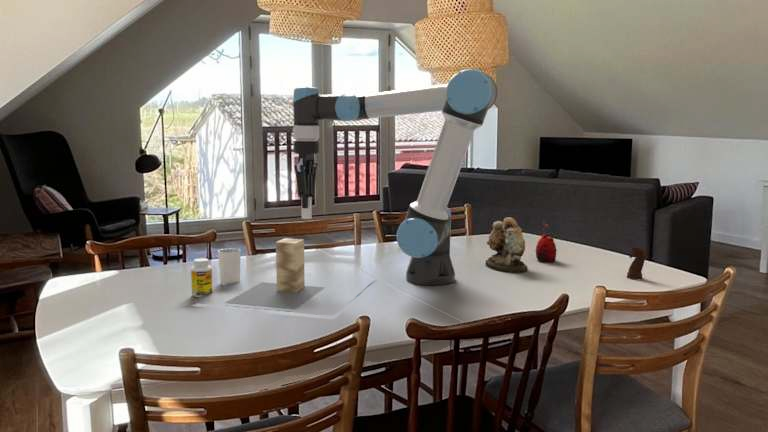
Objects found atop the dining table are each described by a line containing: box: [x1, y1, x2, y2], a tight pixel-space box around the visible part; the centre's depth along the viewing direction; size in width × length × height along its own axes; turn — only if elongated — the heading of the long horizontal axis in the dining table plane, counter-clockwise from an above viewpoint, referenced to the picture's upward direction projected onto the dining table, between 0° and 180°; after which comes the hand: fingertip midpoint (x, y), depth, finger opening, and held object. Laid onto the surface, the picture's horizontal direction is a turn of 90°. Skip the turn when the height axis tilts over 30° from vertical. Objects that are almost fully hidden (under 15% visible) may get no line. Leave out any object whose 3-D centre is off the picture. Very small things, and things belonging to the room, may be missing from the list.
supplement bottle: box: [190, 257, 213, 298], centre depth 177 cm, size 6×6×10 cm
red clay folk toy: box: [535, 220, 557, 263], centre depth 223 cm, size 8×7×15 cm
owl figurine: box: [485, 216, 528, 274], centre depth 213 cm, size 18×12×17 cm, turn 28°
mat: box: [224, 281, 326, 313], centre depth 176 cm, size 20×22×1 cm
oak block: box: [275, 237, 306, 292], centre depth 181 cm, size 6×6×14 cm
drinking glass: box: [217, 247, 242, 286], centre depth 190 cm, size 7×7×10 cm
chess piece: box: [626, 246, 646, 280], centre depth 200 cm, size 5×5×10 cm
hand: (306, 218), depth 192 cm, fingers closed
